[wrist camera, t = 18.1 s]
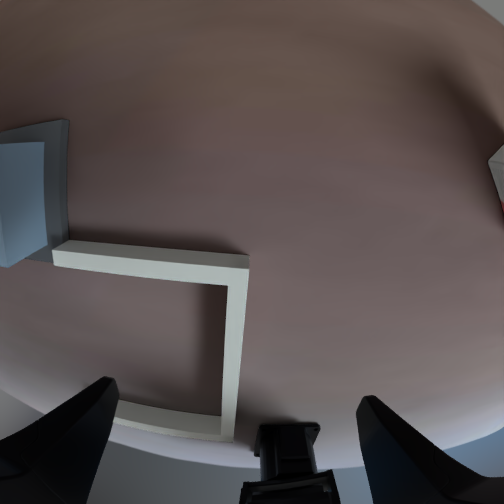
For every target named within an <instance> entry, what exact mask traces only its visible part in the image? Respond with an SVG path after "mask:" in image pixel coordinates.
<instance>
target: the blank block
mask: <svg viewBox="0 0 504 504" xmlns="http://www.w3.org/2000/svg"><path fill="white" fill-rule="evenodd" d="M46 245H48V243H47V234H46V223H45V208H44V142H27V143H10V144H0V266H2V267H7V268H9V267H10V266H12V265H14V264H15V263H17V262H19V261H20V260H22V259H24V258H25V257H27V256H29V255H30V254H32V253H34V252H36V251H37V250H39V249H41V248H43V247H44V246H46Z"/></svg>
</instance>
